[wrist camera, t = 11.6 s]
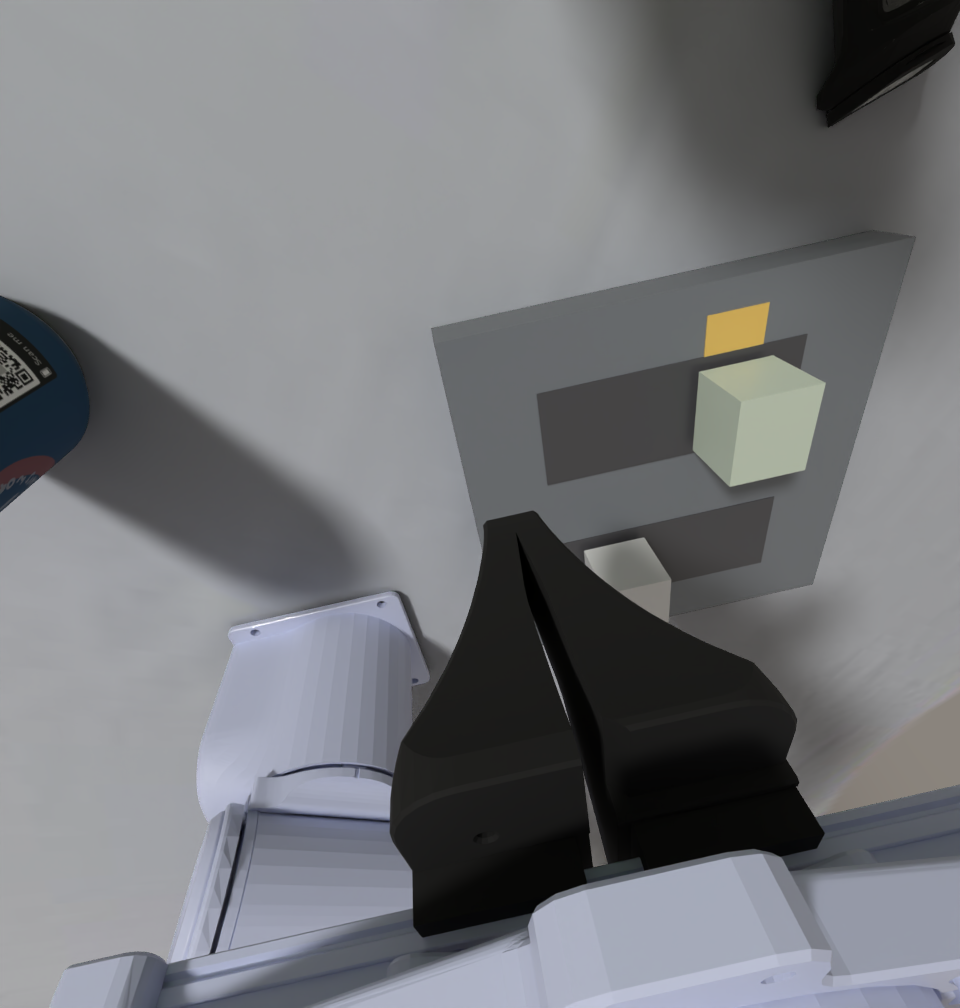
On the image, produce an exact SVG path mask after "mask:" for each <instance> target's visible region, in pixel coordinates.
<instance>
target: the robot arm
mask: <svg viewBox="0 0 960 1008" xmlns="http://www.w3.org/2000/svg"><path fill="white" fill-rule="evenodd" d="M483 529H484V544H483V553H482V560H481V565H480V571H479V576H478V581H477V585H476V588H475V592H474V596H473V600H472V603H471V607H470V610H469V613H468V616H467V619H466V622H465V624H464V627H463V630H462V632H461V635H460V637H459V640H458V642H457V644H456V647H455V649H454V651H453V653H452V656H451V658H450V660H449V662H448V664H447V666H446V668H445V670H444V672H443V674H442V676H441V678H440V679H439V681H438V683H437V685H436V687H435V689H434V690H433V692H432V694H431V696H430V698H429V699H428V701H427V703H426V704H425V706H424V708H423V709H422V711H421V712H420V714H419V715H418V717H417V718H416V720H415V721H414V723H413V724H412V686H415V685H420V684H424V683H427V682H428V681H429V680H430V672H429V670H428V667H427V665H426V662H425V660H424V657H423V654H422V652H421V649H420V647H419V644H418V642H417V639H416V637H415V634H414V631H413V629H412V626H411V624H410V621H409V619H408V616H407V613H406V611H405V608H404V606H403V603H402V601H401V598H400V596H399V594H398V593H396V592H393V591H389V592H384V593H380V594H375V595H371V596H366V597H362V598H357V599H353V600H348V601H344V602H339V603H335V604H331V605H326V606H322V607H317V608H313V609H308V610H304V611H299V612H295V613H290V614H286V615H281V616H277V617H272V618H268V619H263V620H259V621H255V622H250V623H246V624H241V625H237V626H233V627H231V628H230V630H229V633H228V638H229V639H230V641H231V642H232V643H233V645H234V647H233V650H232V653H231V655H230V658H229V661H228V664H227V667H226V670H225V673H224V676H223V679H222V682H221V684H220V687H219V690H218V693H217V696H216V699H215V702H214V705H213V708H212V711H211V713H210V716H209V719H208V722H207V725H206V728H205V731H204V734H203V737H202V740H201V744H200V748H199V754H198V761H197V793H198V799H199V803H200V806H201V809H202V812H203V814H204V816H205V818H206V820H207V822H208V823H209V825H208V828H207V831H206V833H205V836H204V839H203V843H202V846H201V849H200V852H199V855H198V858H197V861H196V865H195V868H194V871H193V874H192V877H191V881H190V884H189V887H188V891H187V894H186V897H185V900H184V904H183V907H182V910H181V914H180V917H179V921H178V924H177V927H176V931H175V934H174V938H173V941H172V944H171V948H170V951H169V955H168V958H167V962H165V960H163V959H162V958H161V957H159V956H157V955H155V954H152V953H149V952H129V953H123V954H118V955H114V956H109V957H105V958H101V959H96V960H92V961H87V962H83V963H78V964H74V965H71V966H69V967H68V968H67V969H65V970H64V972H63V974H62V976H61V979H60V981H59V984H58V986H57V988H56V991H55V993H54V996H53V998H52V1000H51V1003H50V1005H49V1008H960V785H956V786H952V787H947V788H943V789H939V790H934V791H930V792H926V793H921V794H916V795H912V796H908V797H904V798H899V799H894V800H890V801H886V802H881V803H876V804H872V805H868V806H864V807H859V808H854V809H850V810H846V811H841V812H837V813H832V814H828V815H823V816H819V817H814V815H813V813H812V812H811V810H810V809H809V807H808V805H807V804H806V802H805V801H804V799H803V797H802V796H801V794H800V793H799V791H798V790H797V788H796V786H798V784H799V781H798V777H797V776H796V774H795V772H794V771H793V769H792V768H791V766H790V765H789V763H788V761H787V760H786V757H787V754H788V751H789V748H790V745H791V743H792V740H793V737H794V734H795V731H796V723H797V718H796V716H795V714H794V712H793V710H792V708H791V707H790V706H789V704H788V703H787V701H786V700H785V699H784V697H783V696H782V694H781V693H780V692H779V691H778V689H777V688H776V687H775V686H774V685H773V684H772V683H771V681H770V680H769V679H768V678H767V677H766V676H765V675H764V674H763V673H762V671H761V670H760V669H759V668H758V667H757V666H756V665H755V664H754V663H753V662H751V661H748V660H746V659H744V658H741V657H739V656H736V655H734V654H732V653H729V652H727V651H724V650H722V649H719V648H717V647H715V646H712V645H710V644H708V643H705V642H703V641H701V640H699V639H697V638H695V637H693V636H691V635H689V634H687V633H685V632H683V631H681V630H679V629H678V628H676V627H674V626H672V625H671V624H669V623H667V622H665V621H664V620H662V619H660V618H658V617H657V616H655V615H653V614H651V613H650V612H648V611H646V610H645V609H643V608H642V607H640V606H639V605H637V604H636V603H634V602H633V601H631V600H630V599H628V598H627V597H625V596H624V595H623V594H621V593H620V592H618V591H617V590H616V589H614V588H613V587H612V586H610V585H609V584H608V583H606V582H605V581H604V580H603V579H601V578H600V577H599V576H598V575H597V574H595V573H594V572H593V571H592V570H591V569H590V568H588V567H587V566H586V565H585V564H584V563H583V562H582V561H581V560H580V559H579V558H577V557H576V556H575V555H574V554H573V553H572V552H571V551H570V550H569V549H568V548H567V547H566V546H565V545H564V544H563V543H562V542H561V541H560V540H559V539H558V537H557V536H556V535H555V534H554V533H553V532H552V531H551V530H550V529H549V527H548V526H547V525H546V524H545V523H544V521H543V520H542V519H541V517H540V516H539V514H538V513H536V512H535V511H533V510H532V511H528V512H523V513H519V514H515V515H510V516H506V517H501V518H497V519H492V520H488V521H486V522H485V523H484V525H483ZM379 601H384V603H380V602H379ZM534 621H535V622H534ZM535 624H536V625H535ZM536 627H537V628H536ZM255 629H256V630H255ZM537 629H538V631H537ZM538 632H539V635H540V637H541V640H542V642H543V645H544V647H545V650H546V653H547V655H548V658H549V660H550V663H551V666H552V668H553V671H554V673H555V676H556V679H557V681H558V684H559V687H560V690H561V693H562V696H563V700H564V703H565V707H566V711H567V714H568V718H569V720H568V718H567V715H566V713H565V710H564V707H563V704H562V701H561V699H560V696H559V693H558V690H557V688H556V685H555V682H554V679H553V676H552V673H551V670H550V667H549V665H548V662H547V659H546V656H545V653H544V650H543V647H542V644H541V641H540V638H539V635H538ZM569 721H570V723H569ZM570 725H571V726H570ZM583 772H584V776H585V779H586V783H587V787H588V790H589V794H590V798H591V801H592V805H593V809H594V813H595V816H596V820H597V824H598V828H599V831H600V835H601V839H602V843H603V847H604V850H605V854H606V858H607V862H608V864H607V865H602V866H598V867H593V864H592V856H591V848H590V839H589V833H590V828H589V820H588V811H587V803H586V794H585V785H584V777H583Z"/></svg>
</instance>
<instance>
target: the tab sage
mask: <svg viewBox="0 0 960 1008" xmlns="http://www.w3.org/2000/svg"><path fill="white" fill-rule="evenodd" d="M825 385H826V383H825V382H823V381H821V380H819V379H817V378H815V377H813V376H812V375H810V374H808V373H806V372H804V371H802V370H800V369H798V368H796V367H794V366H793V365H791V364H789V363H787V362H785V361H783V360H781V359H779V358H777V357H775V356H774V355H772V356H768V357H763V358H759V359H754V360H750V361H745V362H741V363H736V364H732V365H727V366H723V367H718V368H714V369H709V370H705V371H700V372H699V379H698V391H697V403H696V415H695V428H694V440H693V451H694V452H695V453H696V454H697V455H698V456H699V457H700V458H701V459H702V460H703V461H704V462H705V463H706V464H707V465H708V466H709V467H710V468H711V469H712V470H713V471H714V472H715V473H716V474H717V475H718V476H719V477H720V478H721V479H722V480H723V481H724V482H725V483H726V484H727V485H728V486H729V487H732V486H736V485H741V484H745V483H750V482H754V481H759V480H763V479H767V478H772V477H776V476H781V475H785V474H790V473H794V472H799V471H803V470H805V468H806V464H807V460H808V456H809V451H810V447H811V443H812V439H813V435H814V431H815V426H816V422H817V418H818V414H819V410H820V405H821V401H822V397H823V393H824V389H825Z"/></svg>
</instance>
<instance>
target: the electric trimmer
mask: <svg viewBox="0 0 960 1008" xmlns="http://www.w3.org/2000/svg"><path fill="white" fill-rule="evenodd" d="M959 11H960V0H833V20H834V40H835V66H834V68H833V70H832V72H831V74H830V75H829V77H828V79H827V81H826V83H825V85H824V86H823V88H822V89H821V91H820V92H819V94H818V95H817V109H818V110H825V111H827V112H828V111H830V110H831V111H830V112H829V113H828V114H827V115H826V118H827V124H828V127H830V126H833V125H834V124H836V123H837V122H839V121H841V120H842V119H844V118H845V117H847V116H849V115H850V114H852V113H854V112H856V111H857V110H859V109H861V108H862V107H864V106H866V105H868V104H869V103H871V102H873V101H874V100H876V99H878V98H880V97H881V96H883V95H885V94H887V93H888V92H890V91H892V90H893V89H895V88H897V87H899V86H900V85H902V84H904V83H905V82H907V81H909V80H911V79H912V78H914V77H916V76H918V75H919V74H921V73H922V72H924V71H925V70H926V69H928V68H929V67H931V66H932V65H934V64H935V63H936V62H937V61H939V60H940V59H941V58H942V57H944V56H945V55H946V54H947V53H948V52H949V51H950V50H951V49H952V48H953V47H954V46H955V41H954V38H953V34H952V32H951V33H950V30H951V28H952V26H953V24H954V22H955V19H956V17H957V15H958V13H959ZM908 55H909V56H908ZM897 62H898V63H897ZM894 64H895V65H894ZM891 66H892V67H891ZM888 68H889V69H888ZM864 85H865V86H864ZM860 88H861V89H860Z"/></svg>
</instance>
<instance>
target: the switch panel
mask: <svg viewBox="0 0 960 1008" xmlns="http://www.w3.org/2000/svg"><path fill="white" fill-rule="evenodd" d="M915 238H916V237H915V236H908V235H902V234H895V233H888V232H881V231H875V230H873V231H868V232H864V233H859V234H855V235H850V236H846V237H841V238H837V239H832V240H828V241H823V242H819V243H814V244H810V245H805V246H801V247H796V248H792V249H787V250H783V251H778V252H774V253H769V254H765V255H760V256H756V257H751V258H747V259H742V260H738V261H733V262H729V263H724V264H719V265H715V266H710V267H706V268H701V269H697V270H692V271H688V272H683V273H679V274H674V275H670V276H665V277H661V278H656V279H652V280H647V281H643V282H638V283H634V284H629V285H625V286H620V287H616V288H611V289H607V290H602V291H598V292H593V293H589V294H584V295H580V296H575V297H571V298H566V299H562V300H557V301H553V302H548V303H544V304H539V305H535V306H530V307H526V308H521V309H517V310H512V311H508V312H503V313H499V314H494V315H490V316H485V317H481V318H476V319H472V320H467V321H463V322H458V323H454V324H449V325H445V326H440V327H436V328H431V330H432V335H433V341H434V346H435V350H436V354H437V359H438V363H439V367H440V371H441V376H442V380H443V384H444V389H445V393H446V397H447V401H448V406H449V410H450V414H451V419H452V423H453V427H454V432H455V436H456V440H457V444H458V449H459V453H460V457H461V462H462V466H463V470H464V474H465V479H466V483H467V487H468V492H469V496H470V500H471V504H472V509H473V513H474V517H475V522H476V526H477V530H478V534H479V539H480V543H481V547H482V552H483V544H484V529H483V525H484V523H485V522H486V521H488V520H492V519H497V518H501V517H506V516H510V515H515V514H519V513H523V512H528V511H532V510H533V511H535V512H536V513H538V514H539V516H540V517H541V519H542V520H543V521H544V523H545V524H546V525H547V526H548V527H549V529H550V530H551V531H552V532H553V533H554V534H555V535H556V536H557V537H558V539H559V540H560V541H561V542H562V543H563V544H564V545H565V546H566V547H567V548H568V549H569V550H570V551H571V552H572V553H573V554H574V555H575V556H576V557H577V558H579V559H580V560H581V561H582V562H583V563H584V564H585V557H584V551H585V550H589V549H594V548H598V547H603V546H607V545H612V544H616V543H621V542H625V541H630V540H634V539H638V538H643V537H644V538H645V539H646V541H647V543H648V544H649V546H650V547H651V549H652V550H653V552H654V553H655V555H656V556H657V558H658V560H659V561H660V563H661V564H662V566H663V567H664V569H665V570H666V572H667V574H668V575H669V577H670V578H671V592H670V608H669V616H673V615H678V614H682V613H687V612H691V611H696V610H700V609H705V608H709V607H714V606H718V605H722V604H727V603H731V602H736V601H740V600H745V599H749V598H754V597H758V596H763V595H767V594H771V593H776V592H780V591H785V590H789V589H794V588H798V587H803V586H807V585H812V584H813V581H814V578H815V575H816V571H817V568H818V565H819V561H820V558H821V555H822V551H823V548H824V544H825V541H826V538H827V534H828V531H829V528H830V524H831V521H832V517H833V514H834V511H835V507H836V504H837V501H838V497H839V494H840V491H841V487H842V484H843V480H844V477H845V474H846V470H847V467H848V464H849V460H850V457H851V453H852V450H853V447H854V443H855V440H856V437H857V433H858V430H859V427H860V423H861V420H862V416H863V413H864V410H865V406H866V403H867V400H868V396H869V393H870V389H871V386H872V383H873V379H874V376H875V373H876V369H877V366H878V363H879V359H880V356H881V352H882V349H883V346H884V342H885V339H886V336H887V332H888V329H889V325H890V322H891V319H892V315H893V312H894V309H895V305H896V302H897V298H898V295H899V292H900V288H901V285H902V282H903V278H904V275H905V272H906V268H907V265H908V261H909V258H910V255H911V251H912V248H913V245H914V241H915ZM772 355H774V356H775V357H777V358H779V359H781V360H783V361H785V362H787V363H789V364H791V365H793V366H794V367H796V368H798V369H800V370H802V371H804V372H806V373H808V374H810V375H812V376H813V377H815V378H817V379H819V380H821V381H823V382H825V383H826V385H825V389H824V393H823V397H822V401H821V405H820V410H819V414H818V418H817V422H816V426H815V431H814V435H813V439H812V443H811V447H810V451H809V456H808V460H807V464H806V468H805V470H803V471H799V472H794V473H790V474H785V475H781V476H776V477H772V478H767V479H763V480H759V481H754V482H750V483H745V484H741V485H736V486H732V487H729V486H728V485H727V484H726V483H725V482H724V481H723V480H722V479H721V478H720V477H719V476H718V475H717V474H716V473H715V472H714V471H713V470H712V469H711V468H710V467H709V466H708V465H707V464H706V463H705V462H704V461H703V460H702V459H701V458H700V457H699V456H698V455H697V454H696V453H695V452H694V451H693V440H694V428H695V415H696V403H697V391H698V379H699V372H700V371H705V370H709V369H714V368H718V367H723V366H727V365H732V364H736V363H741V362H745V361H750V360H754V359H759V358H763V357H768V356H772ZM534 622H535V621H534ZM535 625H536V624H535ZM536 628H537V627H536ZM537 631H538V629H537ZM538 635H539V632H538ZM539 638H540V641H541V644H542V645H543V642H542V640H541V637H540V635H539Z"/></svg>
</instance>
